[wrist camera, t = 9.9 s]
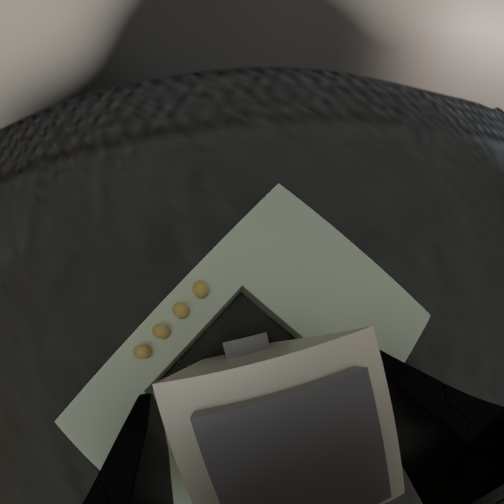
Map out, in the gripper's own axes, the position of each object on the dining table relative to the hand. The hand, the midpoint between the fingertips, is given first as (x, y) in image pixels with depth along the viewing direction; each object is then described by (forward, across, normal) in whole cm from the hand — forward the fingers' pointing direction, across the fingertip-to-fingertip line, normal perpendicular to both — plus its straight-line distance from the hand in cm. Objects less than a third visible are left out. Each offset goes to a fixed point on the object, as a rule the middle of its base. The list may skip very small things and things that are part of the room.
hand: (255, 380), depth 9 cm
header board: (+5, 0, +7) cm, 9 cm away
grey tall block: (+6, 0, +7) cm, 9 cm away
